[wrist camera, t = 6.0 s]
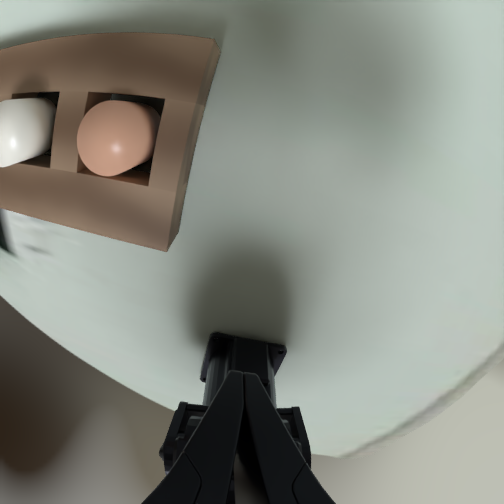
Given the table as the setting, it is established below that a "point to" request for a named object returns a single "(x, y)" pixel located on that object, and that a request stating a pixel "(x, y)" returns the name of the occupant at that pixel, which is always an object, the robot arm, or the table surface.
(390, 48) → the table surface
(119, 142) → the button terracotta
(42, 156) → the panel
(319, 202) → the table surface
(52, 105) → the button cream
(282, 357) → the robot arm
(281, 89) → the table surface
